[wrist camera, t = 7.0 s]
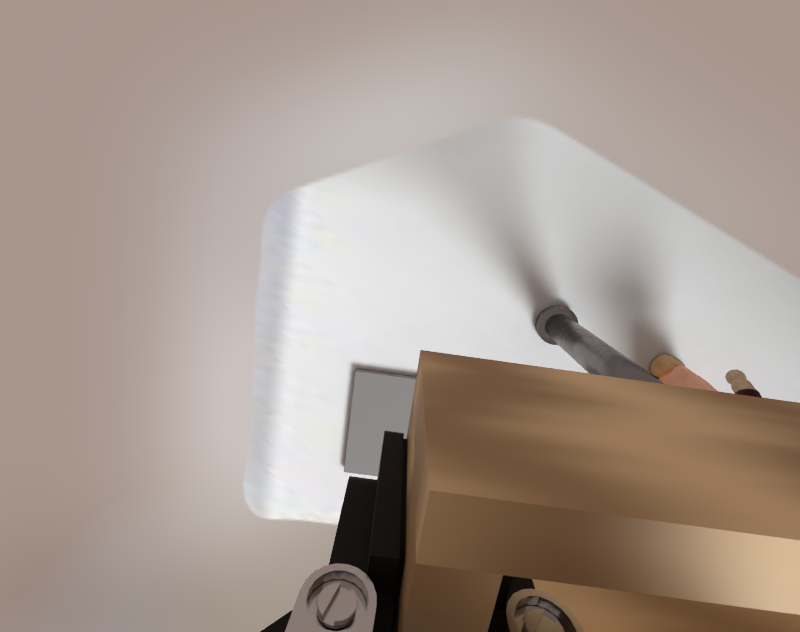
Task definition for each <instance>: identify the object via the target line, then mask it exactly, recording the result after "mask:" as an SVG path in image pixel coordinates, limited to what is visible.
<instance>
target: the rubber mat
mask: <svg viewBox="0 0 800 632" xmlns="http://www.w3.org/2000/svg"><path fill="white" fill-rule="evenodd" d="M415 382H416V377H414V376H407V375H399V374H392V373H385V372H377V371H370V370H362V369H356V371H355V378H354V387H353V396H352V405H351V413H350V422H349V431H348V440H347V448H346V457H345V466H344V472H349V473H357V474H364V475H372V476H378V472H379V465H380V458H381V451H382V444H383V437H384V431H391V432H399V433H404V439H406V438H407V432H408V425H409V419H410V413H411V407H412V401H413V395H414V388H415Z"/></svg>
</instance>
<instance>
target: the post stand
mask: <svg viewBox="0 0 800 632" xmlns="http://www.w3.org/2000/svg"><path fill="white" fill-rule="evenodd" d="M536 331H537V333H538V335H539V336H540V337H541V338H542V339H543V340H544V341H545V342H547V343H549V344H553V345H559V346H560V347H561V348H562V349H563V350H565V351H566V352H567V353H568V354H569V355H570V356H571V357H572V358H573V359H574V360H575V361H576V362H578V363H579V364H580V365H581V366H582V367H583V368H584V369H585V370H586V371H587V372H588V373H589V374H595V375H602V376H609V377H617V378H624V379H631V380H638V381H645V382H652V383H660V384H664V383H663V382H661V381H660V380H658V379H657V378H656V377H654V376H653V375H651V374H650V373H648V372H647V371H645V370H644V369H643V368H641V367H640V366H638V365H637V364H635V363H634V362H632V361H631V360H630V359H628V358H627V357H625V356H624V355H622V354H621V353H619V352H618V351H617V350H615V349H614V348H612V347H611V346H609V345H608V344H606V343H605V342H604V341H602V340H601V339H599V338H598V337H596V336H595V335H593V334H592V333H591V332H589V331H588V330H586V329H585V328H583V327H582V326H580V325H579V324H578V320H577V317H576V315H575V314H574V313H573V312H572V311H571V310H569V309H568V308H566V307H564V306H559V305H555V306H550V307H548V308H546V309H545V310H543V311H542V312H541V313H540V314H539V316H538V318H537V321H536Z"/></svg>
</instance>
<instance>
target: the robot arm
mask: <svg viewBox="0 0 800 632" xmlns="http://www.w3.org/2000/svg"><path fill="white" fill-rule="evenodd" d="M406 497H407V439H404V433H399V432H391V431H384V437H383V444H382V451H381V458H380V465H379V472H378V479H377V480H373V479H366V478H358V477H351V476H350V477H349V480H348V484H347V489H346V493H345V497H344V502H343V506H342V510H341V515H340V519H339V523H338V528H337V532H336V537H335V541H334V546H333V550H332V554H331V559H330V563H329V565H327V566H324V567H322V568H320V569H318V570H316V571H314V573H312V574H311V575H310V576H309V577H308V578H307V579H306V581H305V582H304V584H303V586H302V588H301V590H300V592H299V595H298V598H297V600H296V603H295V606H294V608H293V610H292V611H290V612H289V613H287V614H286V615H284V616H283V617H281V618H280V619H278V620H277V621H276V622H274V623H273V624H271V625H270V626H268V627H267V628H265V629H264V630H262V631H261V632H392V631H393V626H394V620H395V614H396V609H397V603H398V598H399V592H400V587H401V581H402V575H403V569H404V561H405V549H406ZM488 632H584V630H583V628H582V626H581V624H580V623H579V621H578V619H577V618H576V616H575V615H574V614H573V613H572V612H571V610H570V609H569V608H568V607H567V606H566V605H565V604H564V603H562V602H561V601H560V600H558V599H557V598H556V597H554V596H552V595H550V594H548V593H546V592H544V591H541V590H536V589H535V587H534V584H533V580H532V579H529V578H521V577H514V576H506V575H503V577H502V581H501V584H500V588H499V592H498V595H497V599H496V603H495V607H494V610H493V614H492V618H491V621H490V625H489V629H488Z"/></svg>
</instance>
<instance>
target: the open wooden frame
mask: <svg viewBox="0 0 800 632" xmlns="http://www.w3.org/2000/svg"><path fill="white" fill-rule="evenodd" d="M406 439H407V497H406V549H405V561H404V569H403V575H402V581H401V587H400V592H399V598H398V603H397V609H396V614H395V620H394V626H393V631H392V632H488V629H489V625H490V621H491V618H492V614H493V610H494V607H495V603H496V599H497V595H498V592H499V588H500V584H501V581H502V577H503V575H506V576H514V577H521V578H529V579H532V580H533V584H534V587H535V589H536V590H541V591H544V592H546V593H548V594H550V595H552V596H554V597H556V598H557V599H558V600H560V601H561V602H562V603H564V604H565V605H566V606H567V607H568V608H569V609H570V610H571V612H572V613H573V614H574V615H575V616H576V618H577V619H578V621H579V623H580V624H581V626H582V628H583V630H584V632H800V403H796V402H789V401H782V400H774V399H767V398H760V397H753V396H746V395H739V394H731V393H724V392H717V391H710V390H703V389H695V388H688V387H681V386H674V385H667V384H660V383H652V382H645V381H638V380H631V379H624V378H617V377H609V376H602V375H595V374H588V373H581V372H573V371H566V370H559V369H552V368H545V367H538V366H530V365H523V364H516V363H509V362H502V361H494V360H487V359H480V358H473V357H466V356H459V355H451V354H444V353H437V352H430V351H423V350H421V351H420V358H419V364H418V370H417V376H416V382H415V388H414V395H413V401H412V407H411V413H410V419H409V425H408V432H407V438H406Z"/></svg>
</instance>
